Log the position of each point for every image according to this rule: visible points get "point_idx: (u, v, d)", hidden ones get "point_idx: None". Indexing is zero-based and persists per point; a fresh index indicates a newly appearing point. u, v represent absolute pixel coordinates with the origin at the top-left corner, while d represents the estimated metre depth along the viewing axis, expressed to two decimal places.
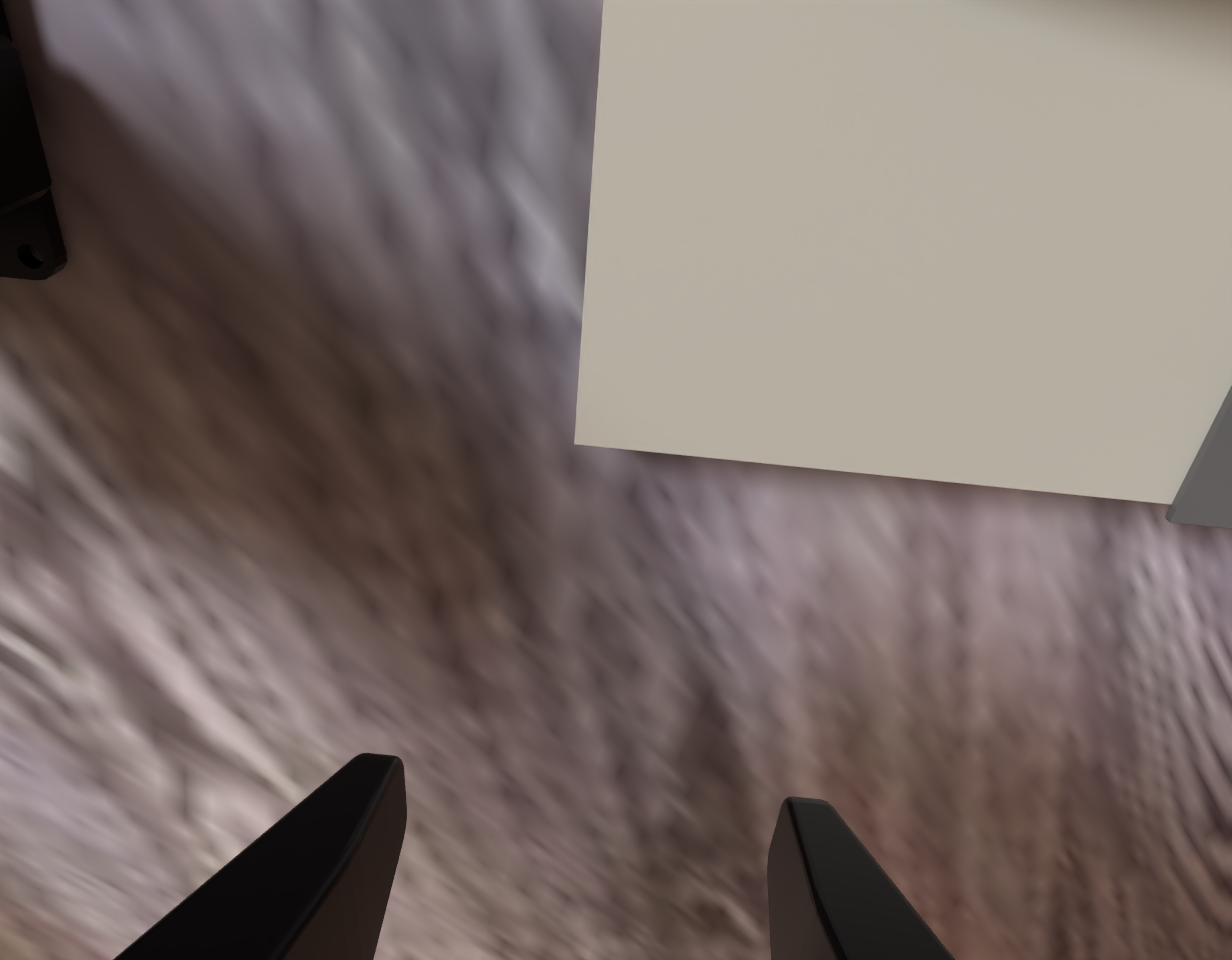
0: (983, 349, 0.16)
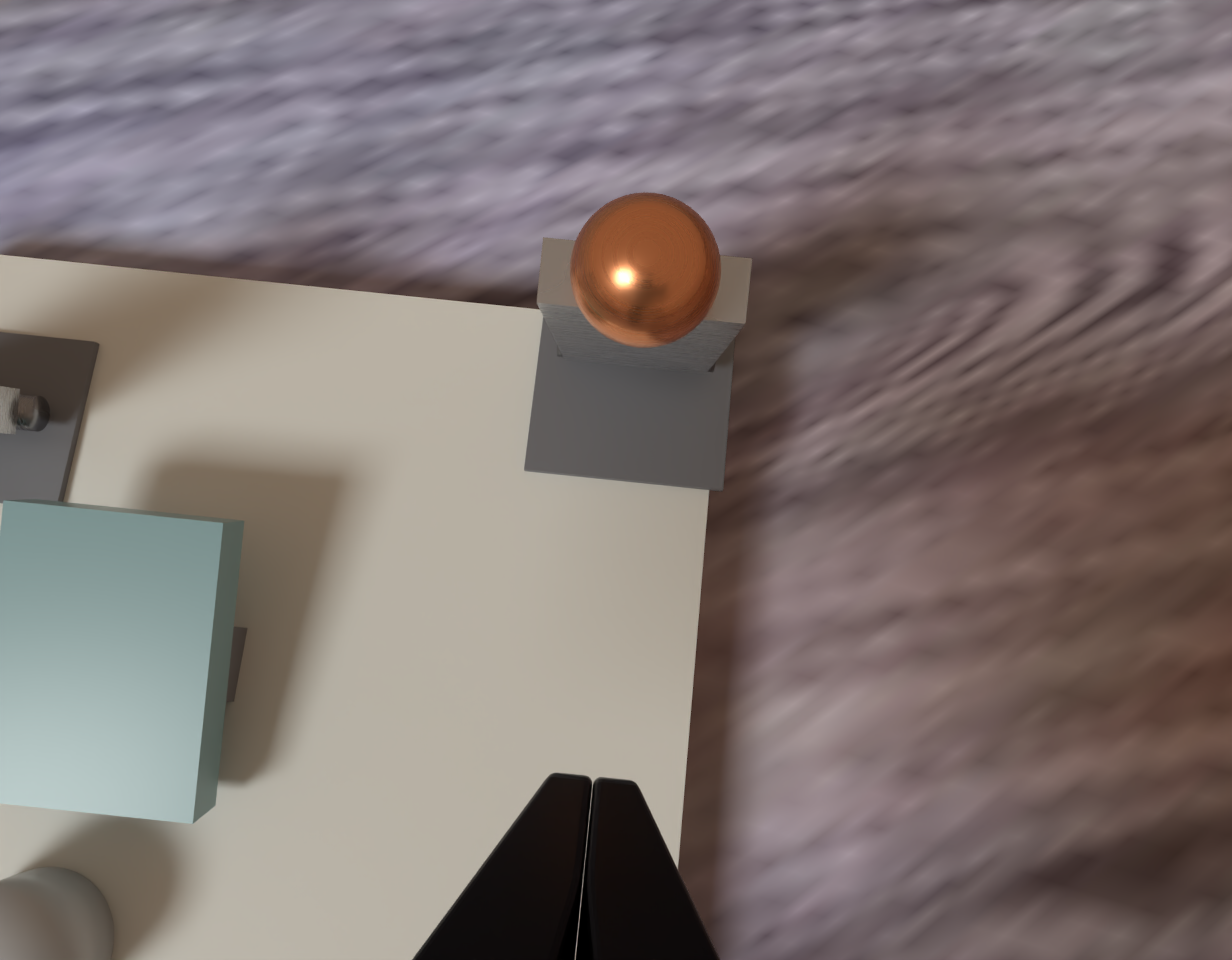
0: (563, 681, 0.20)
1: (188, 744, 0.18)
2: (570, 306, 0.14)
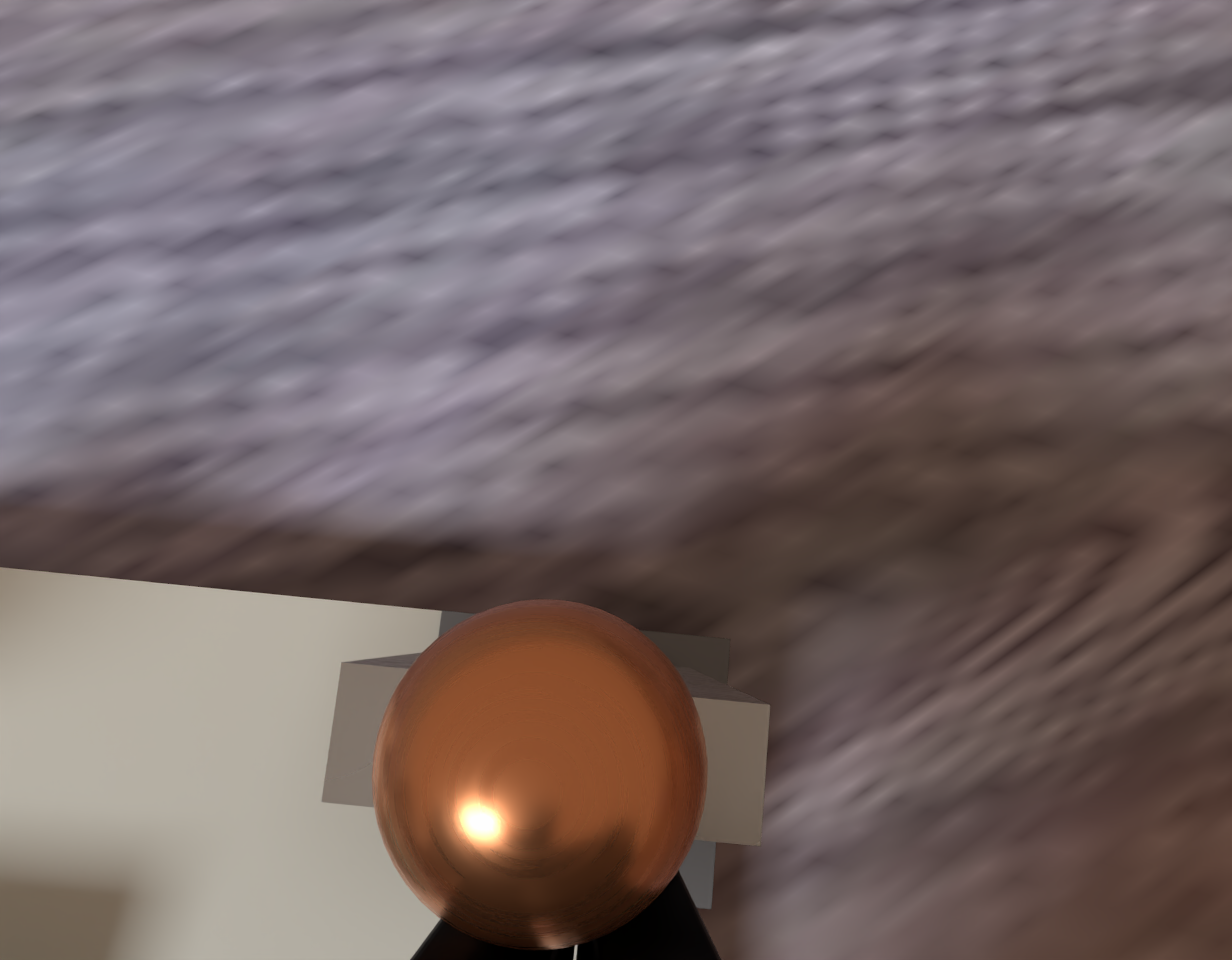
0: None
1: None
2: None
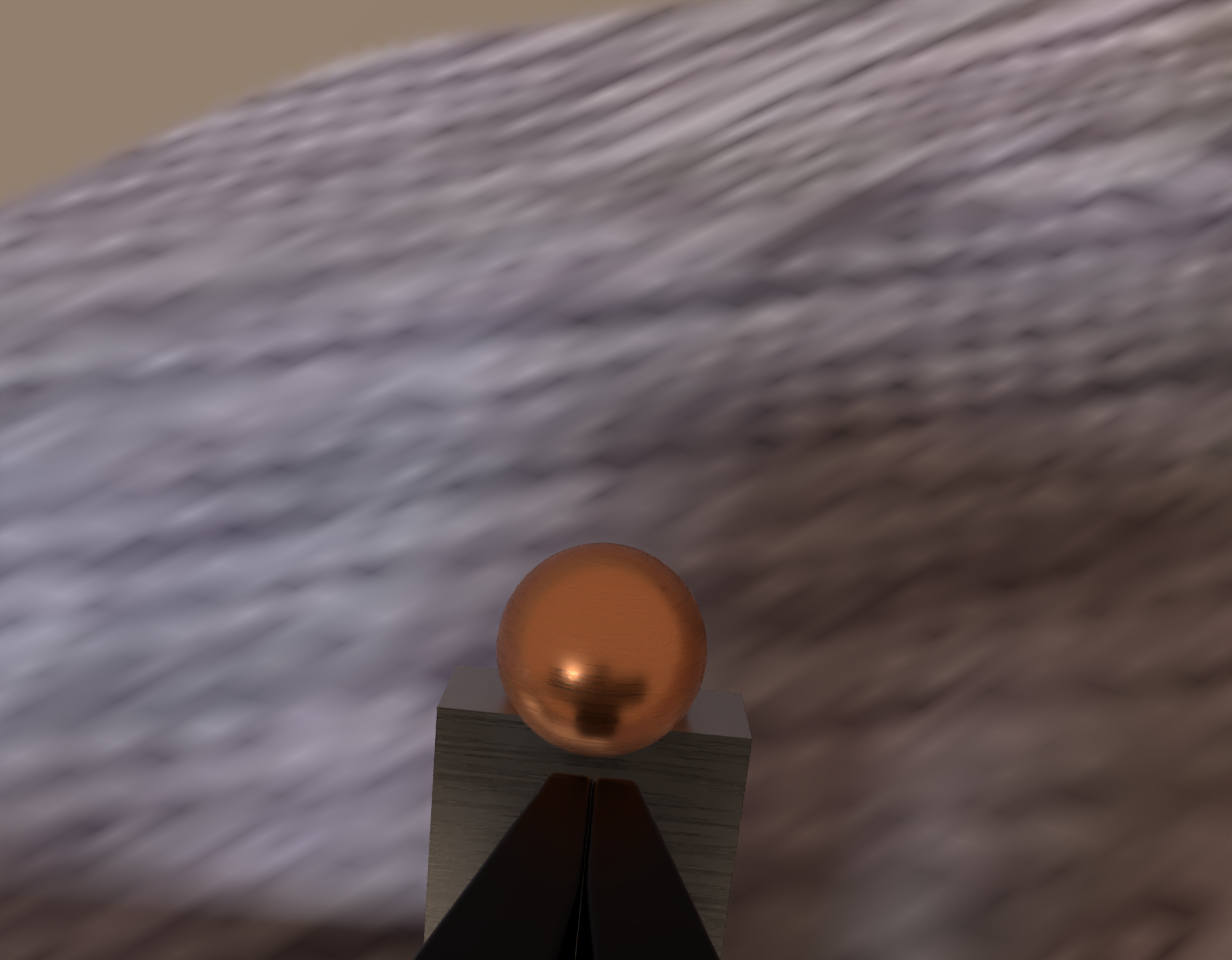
0: None
1: None
2: (487, 716, 0.09)
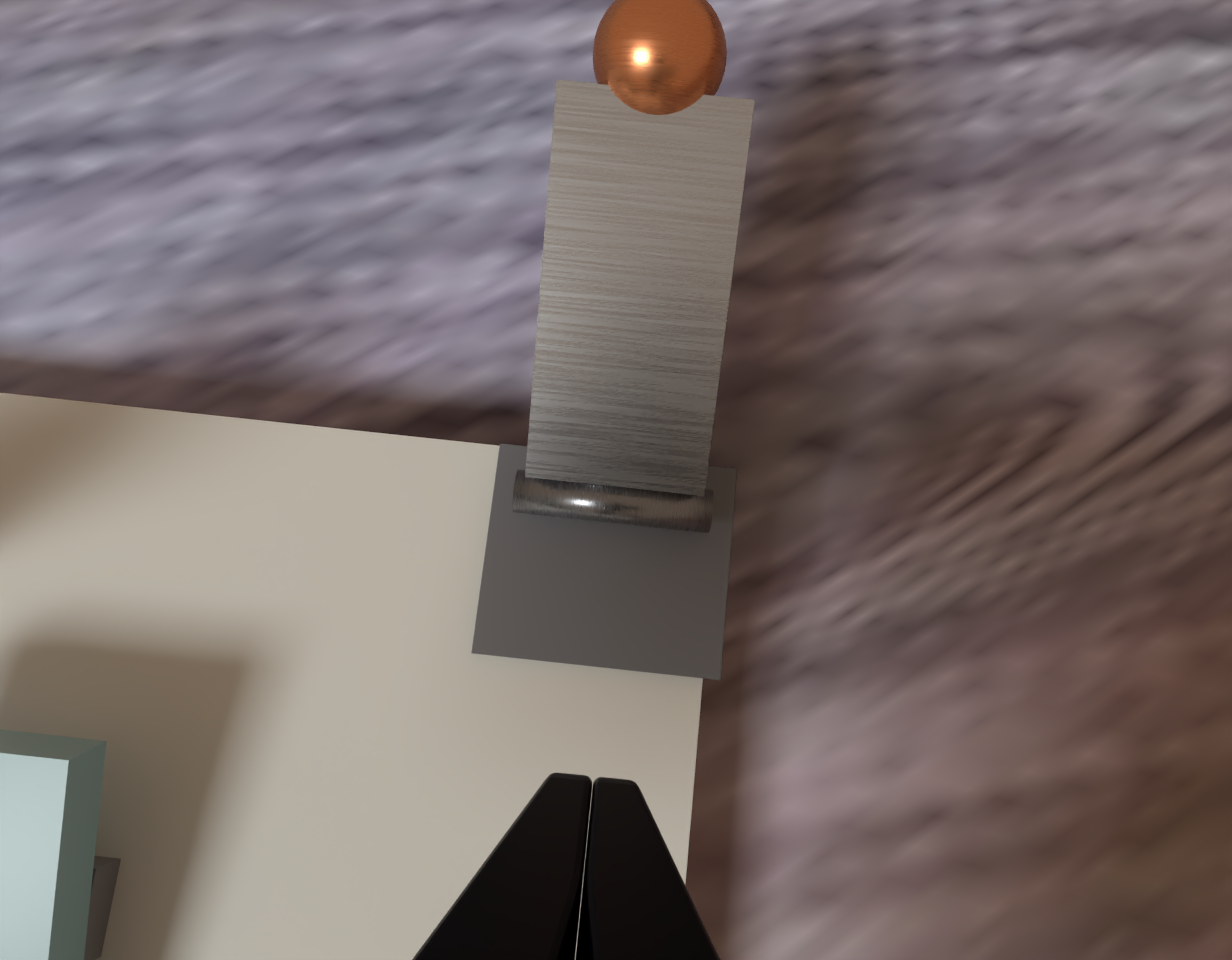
0: None
1: None
2: (588, 86, 0.15)
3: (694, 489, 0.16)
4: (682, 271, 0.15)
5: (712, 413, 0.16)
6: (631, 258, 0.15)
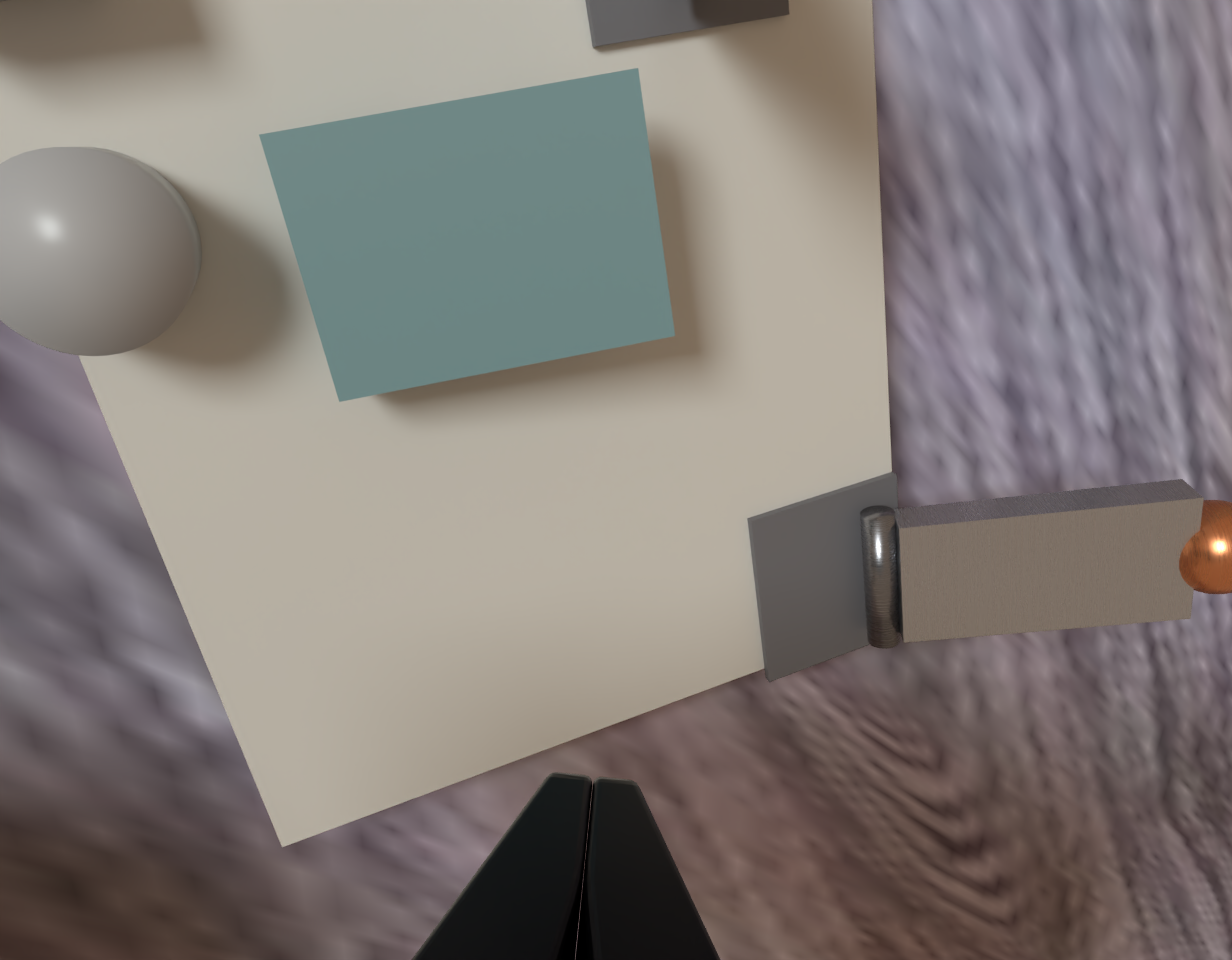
0: (572, 631, 0.21)
1: (424, 370, 0.16)
2: (1199, 518, 0.20)
3: (906, 634, 0.22)
4: (1067, 599, 0.21)
5: (965, 635, 0.22)
6: (1074, 566, 0.21)
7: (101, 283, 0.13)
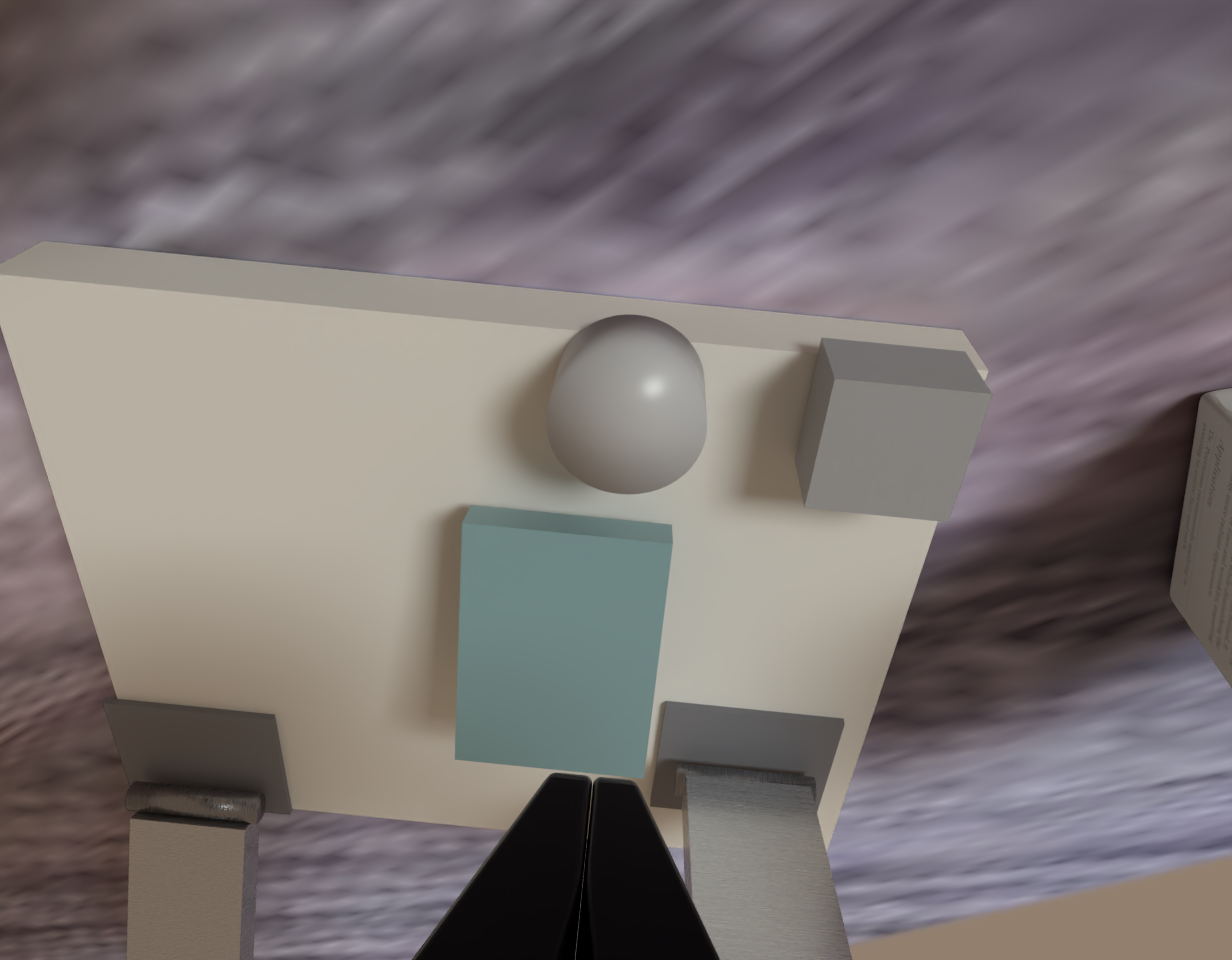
0: (192, 575, 0.22)
1: (471, 590, 0.19)
2: None
3: (137, 820, 0.25)
4: (156, 947, 0.25)
5: (130, 867, 0.25)
6: (187, 954, 0.25)
7: (602, 430, 0.17)
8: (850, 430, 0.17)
